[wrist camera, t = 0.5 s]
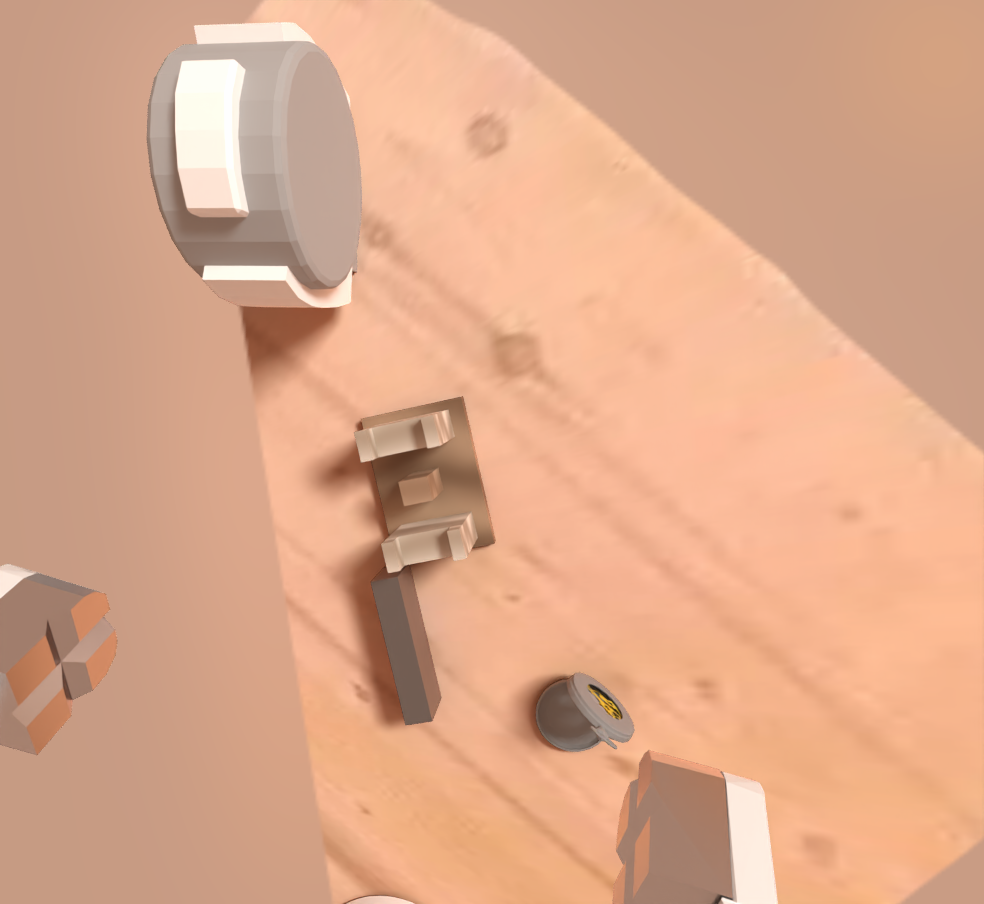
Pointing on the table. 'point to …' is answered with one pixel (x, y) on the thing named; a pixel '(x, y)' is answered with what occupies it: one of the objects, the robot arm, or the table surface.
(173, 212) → the alarm clock
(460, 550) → the display stand
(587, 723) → the pocket watch
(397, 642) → the long grey beam
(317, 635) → the table surface
